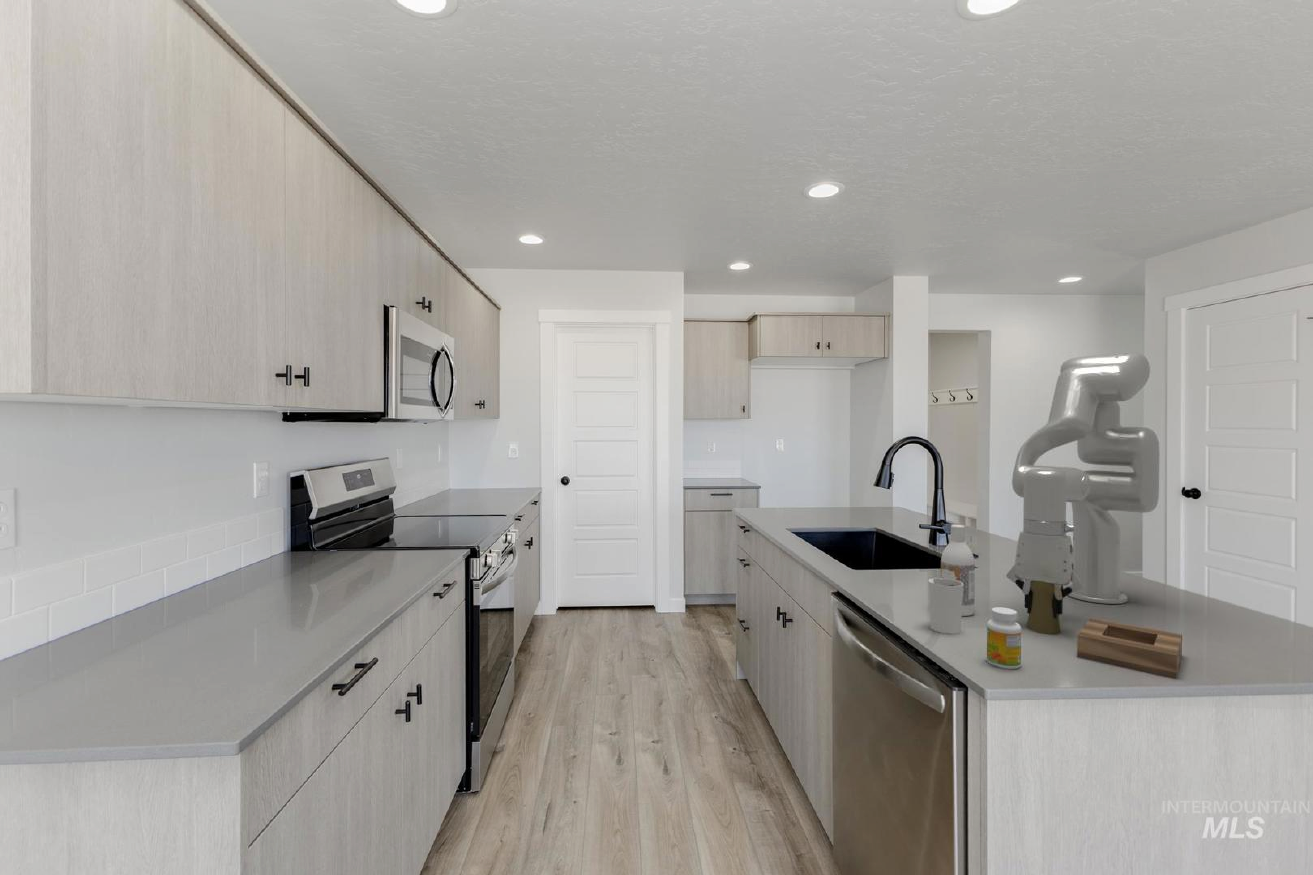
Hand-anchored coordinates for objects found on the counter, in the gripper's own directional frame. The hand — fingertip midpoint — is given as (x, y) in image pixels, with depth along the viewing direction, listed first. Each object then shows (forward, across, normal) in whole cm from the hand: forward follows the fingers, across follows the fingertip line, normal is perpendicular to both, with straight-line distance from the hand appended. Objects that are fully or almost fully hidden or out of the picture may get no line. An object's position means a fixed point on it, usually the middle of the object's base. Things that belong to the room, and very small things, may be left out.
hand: (1043, 613), depth 127 cm
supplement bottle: (+4, +1, +26) cm, 26 cm away
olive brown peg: (+3, 0, 0) cm, 3 cm away
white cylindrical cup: (+4, +15, +14) cm, 21 cm away
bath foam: (+3, +17, 0) cm, 17 cm away
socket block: (+3, -15, +6) cm, 16 cm away
